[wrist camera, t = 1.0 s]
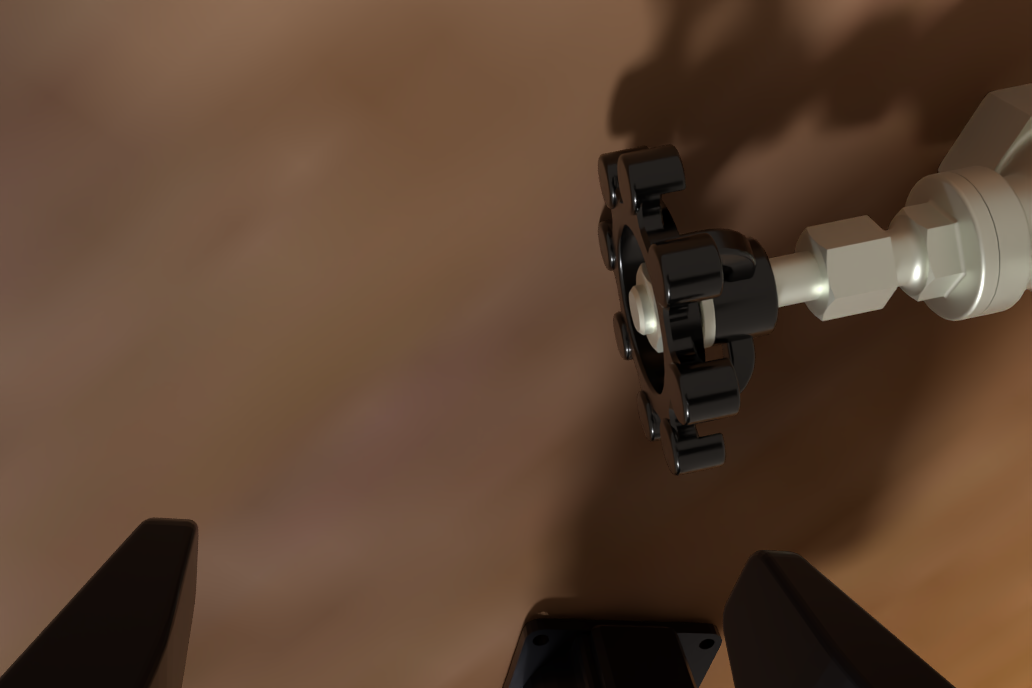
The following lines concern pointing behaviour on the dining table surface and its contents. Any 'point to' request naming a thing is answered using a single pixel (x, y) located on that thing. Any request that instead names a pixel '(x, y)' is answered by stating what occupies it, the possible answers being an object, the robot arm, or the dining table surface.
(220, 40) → the dining table surface
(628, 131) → the dining table surface
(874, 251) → the valve
